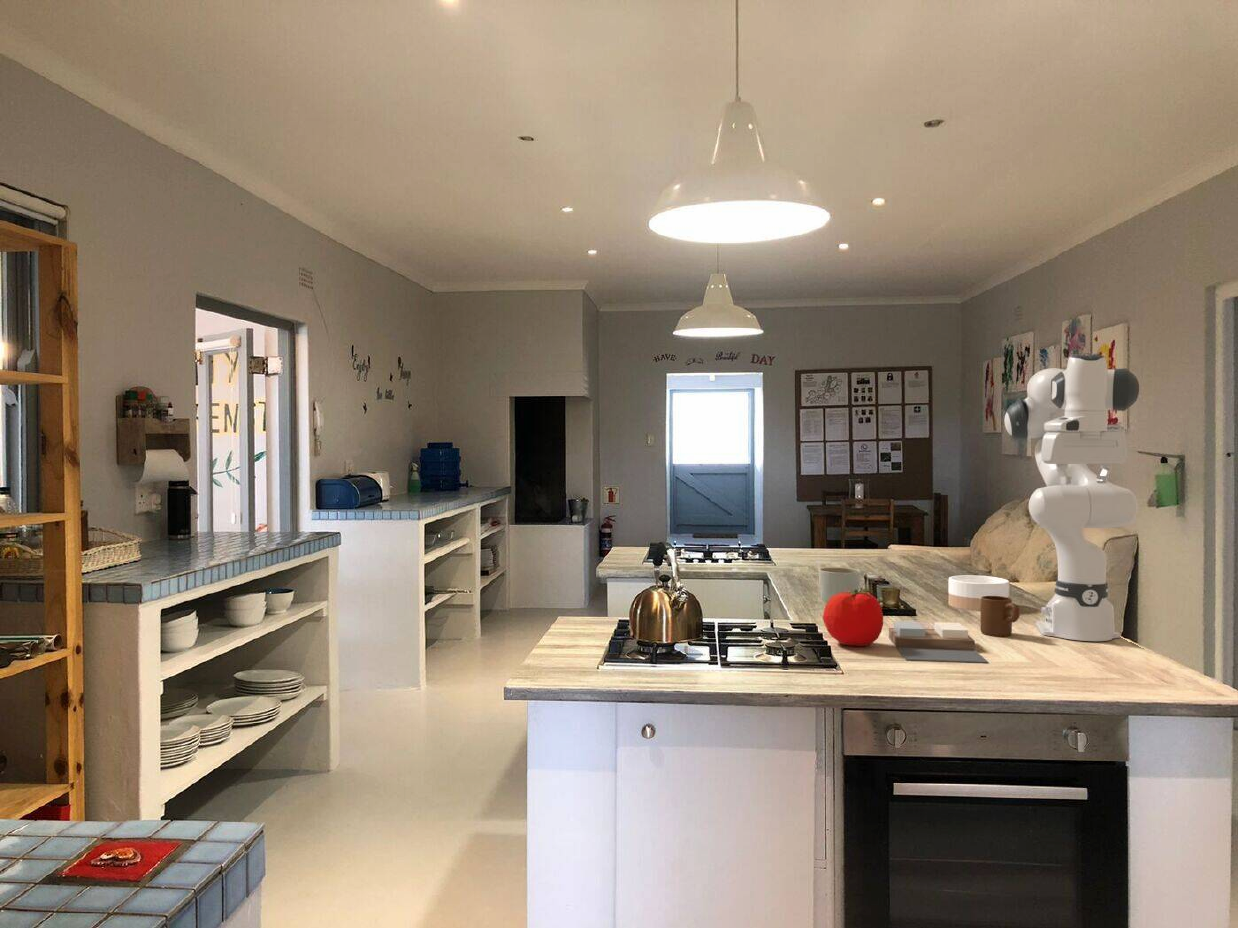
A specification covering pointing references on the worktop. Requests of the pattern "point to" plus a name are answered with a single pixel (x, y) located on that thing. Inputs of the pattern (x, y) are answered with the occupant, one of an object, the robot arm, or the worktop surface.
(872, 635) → the tomato
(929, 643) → the brown wooden flat board
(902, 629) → the light gray block
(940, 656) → the mat
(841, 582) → the planter
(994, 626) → the mug
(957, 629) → the ivory block
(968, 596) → the bowl
